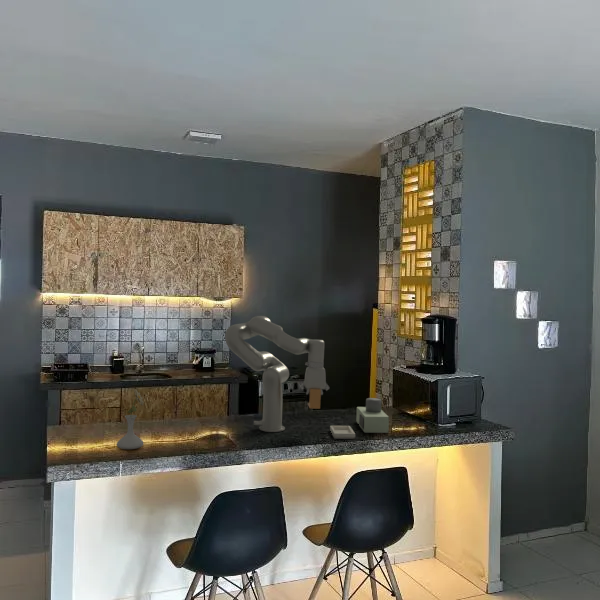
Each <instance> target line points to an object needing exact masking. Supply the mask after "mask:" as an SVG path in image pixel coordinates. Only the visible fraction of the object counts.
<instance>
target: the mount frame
mask: <svg viewBox="0 0 600 600" xmlns="http://www.w3.org/2000/svg"><path fill="white" fill-rule="evenodd" d="M330 431H331V432H330ZM329 432H330V434H331V433H332V434H331V435H332V437H333V439H334V440H337V439H338V440H339V439H340V440H345V439H346V440H355V439H356V433H355V431H354V430H353V428H352V427H351V426H350V425H330V426H329Z"/></svg>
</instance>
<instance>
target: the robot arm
mask: <svg viewBox="0 0 600 600" xmlns="http://www.w3.org/2000/svg"><path fill="white" fill-rule="evenodd" d="M257 336H260V337H262V338H265V339H266V340H269V341H270V342H273V343H274V344H275V345H277V347H279V348H281V349H283V350H284V351H287V352H289V353H291V354H294V355H296V356H297V355H303V354H307V353H308V354H307V355H308V360H307V362H305V364H304V365H305V366H307V367H305V368H306V369H305V374H304V380H303V382H302V383H301V384H300V385H299V388H300V389H301V390H302V391H303V392H304V393H305V395H306V396H305V401H306V403H307V404H308V403H309V391H310V389H321V400H320V404H321V402H322V401H323V395H324V394H325V393H326V392H327V391H328V390H330V386H329V385H328V383H327V381H326V380H327V379H326V378H327V376H326V369H325V368H324V359H325V341H324V340H323V339H311V338H307V337H301V338H296V337H294V336H291V335H289V334H288V333H286V332H285V331H284V330H283V327H282V326H281V325H278V324H276V323H274V322H272V321H271V319H270V318H268V317H267V316H266V315H255V316H253V317H251V318H250V320H249V321H246V322H242V323H235V324H231V325H230V326H228V328H227V329H226V331H225V337H224V338H225V343H226V345H227V347H228V348H229V350H230V351H232V353H233V354H235V355H236V356H237V357H238V358H239V359H241V361H242V362H244V363H245V364H246V365H247V366H248V367H249V368H251V370H253V371H255V372H262V371H263V374H262V385H263V386H262V387H263V388H262V389H263V394H262V395H263V397H262V398H263V400H262V401H263V402H262V403H263V405H262V419H261V420H253V426H254V425H255V426H258V427H259V428H258V429H259V430H260V431H263V432H266V433H267V432H268V433H278V432H282V431H285V429H286V427H285V426H284V425H283V423H282V422H283V400H284V399H283V393H284V392H283V386H282V383H285V382H286V381H287V380H288V379H289V377H290V370H289V368H288V367H287V366H286V365H285V364H284V363H283V362H282V361H280V360H279V359H278V358H277V357H275V356H274V355H273V354H272V353H270V352H269V351H265V350H263V351H259V350H257V349H256V348H255V347H253V346H252V345H251V344H250V343H249V342H247V341H245V340H249V339H251V338H253V337H257Z"/></svg>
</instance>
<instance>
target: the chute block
mask: <svg viewBox="0 0 600 600" xmlns="http://www.w3.org/2000/svg"><path fill="white" fill-rule="evenodd" d="M320 400H321V389H310V391H309V403H308V402H307V405H308V407H309V409H315V410H317V409H318V410H319V409H321V403H320Z"/></svg>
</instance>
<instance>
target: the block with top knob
mask: <svg viewBox="0 0 600 600" xmlns="http://www.w3.org/2000/svg"><path fill="white" fill-rule="evenodd" d="M389 421H390V416H389V415H387V414H386V413H385V412H384V410H382V399H380V398H378V397H377V398H375V397H368V398H366V399H365V406H357V407H356V423H357V424H359V425H358V426H359V427H360V429H361V430H362V431H363V432H364V434H365V433H371V434H372V433H373V434H374V433H378V434H381V433H382V434H383V433H384V434H389V428H390V427H389V426H390V425H389V424H390V423H389Z"/></svg>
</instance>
